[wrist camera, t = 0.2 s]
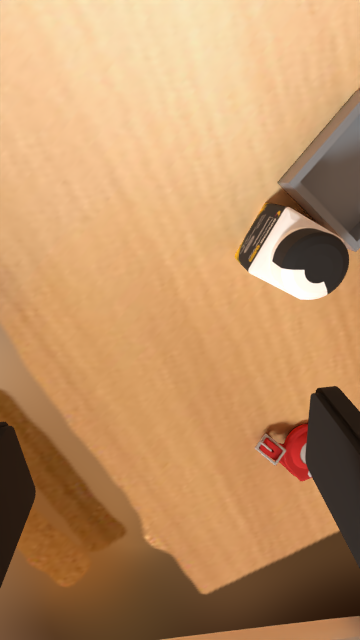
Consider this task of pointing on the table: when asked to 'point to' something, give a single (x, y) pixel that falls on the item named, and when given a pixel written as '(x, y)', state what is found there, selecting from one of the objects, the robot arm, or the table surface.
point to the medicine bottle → (293, 253)
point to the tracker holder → (288, 451)
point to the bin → (331, 175)
